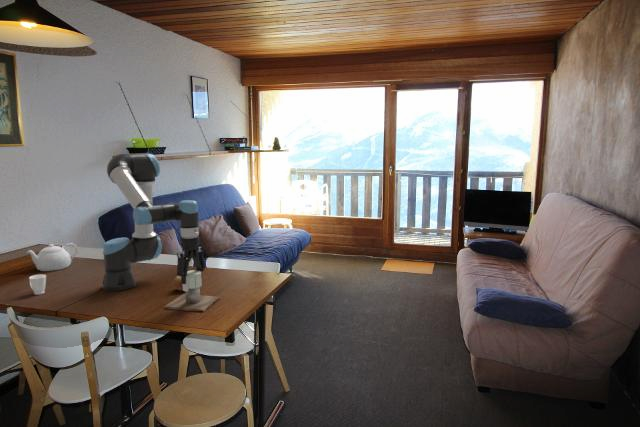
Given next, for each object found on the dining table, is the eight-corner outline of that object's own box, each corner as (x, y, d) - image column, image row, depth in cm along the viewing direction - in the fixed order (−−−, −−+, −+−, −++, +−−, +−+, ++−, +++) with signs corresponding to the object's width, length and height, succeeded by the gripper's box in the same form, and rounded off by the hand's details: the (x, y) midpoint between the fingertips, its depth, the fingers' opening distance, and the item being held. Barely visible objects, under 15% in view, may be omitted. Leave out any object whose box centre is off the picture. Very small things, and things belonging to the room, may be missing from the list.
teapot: (60, 272, 239) (58, 248, 237) (27, 272, 239) (24, 247, 237) (79, 263, 258) (77, 240, 256) (48, 263, 258) (46, 240, 256)
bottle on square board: (164, 308, 186) (162, 281, 184) (183, 296, 202) (182, 270, 200) (203, 311, 182) (202, 284, 180) (220, 298, 198) (219, 273, 196)
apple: (173, 288, 212) (172, 272, 211) (190, 286, 216) (189, 270, 214) (174, 293, 205) (174, 277, 204) (192, 291, 208) (191, 275, 207)
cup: (35, 296, 201) (34, 279, 200) (23, 293, 206) (21, 276, 204) (51, 292, 207) (49, 275, 206) (38, 288, 212) (37, 272, 211)
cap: (192, 289, 186) (191, 276, 185) (179, 287, 189) (179, 273, 188) (204, 285, 192) (204, 271, 191) (192, 282, 196) (191, 269, 195)
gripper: (178, 242, 177) (181, 296, 180) (212, 233, 194) (214, 282, 198) (165, 240, 180) (168, 293, 184) (199, 231, 198) (202, 280, 201)
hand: (192, 288), depth 191 cm, fingers closed on cap, 7 cm apart
